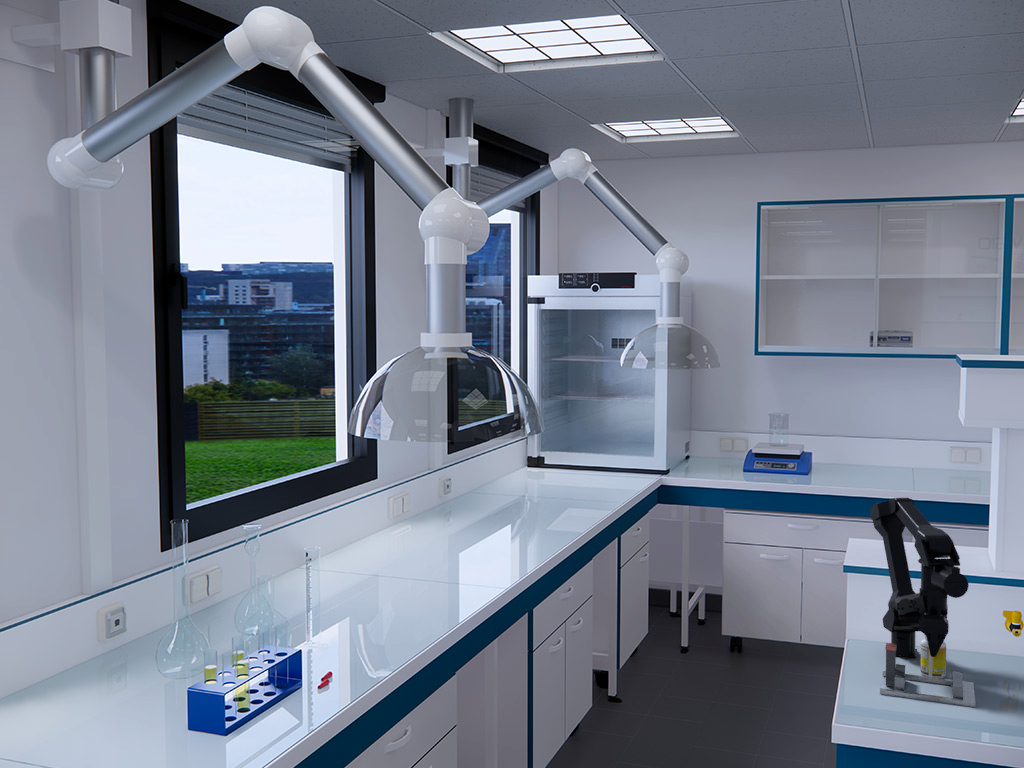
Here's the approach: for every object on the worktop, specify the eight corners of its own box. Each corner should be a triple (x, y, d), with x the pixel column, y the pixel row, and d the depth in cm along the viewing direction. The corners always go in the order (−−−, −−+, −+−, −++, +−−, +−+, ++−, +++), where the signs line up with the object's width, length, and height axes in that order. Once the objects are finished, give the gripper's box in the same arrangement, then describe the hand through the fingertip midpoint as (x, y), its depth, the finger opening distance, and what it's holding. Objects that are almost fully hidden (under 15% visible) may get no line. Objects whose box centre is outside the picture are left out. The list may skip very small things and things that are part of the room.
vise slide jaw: (886, 677, 220) (886, 638, 219) (905, 679, 218) (905, 640, 218) (884, 690, 211) (884, 650, 211) (904, 693, 210) (904, 652, 209)
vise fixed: (882, 674, 222) (882, 660, 222) (973, 686, 214) (973, 671, 214) (879, 693, 210) (880, 678, 210) (975, 707, 202) (975, 691, 202)
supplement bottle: (949, 675, 222) (949, 632, 221) (941, 681, 218) (941, 638, 217) (925, 669, 225) (925, 628, 225) (916, 675, 221) (917, 633, 221)
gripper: (898, 573, 232) (897, 634, 233) (896, 592, 215) (895, 658, 216) (947, 578, 228) (946, 640, 229) (949, 597, 211) (948, 665, 212)
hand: (933, 650), depth 221 cm, fingers open, 9 cm apart
